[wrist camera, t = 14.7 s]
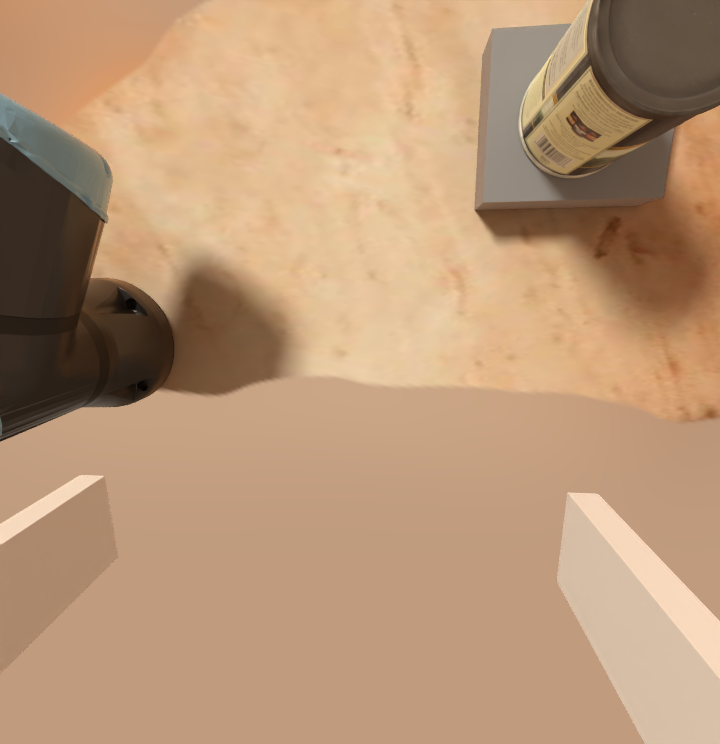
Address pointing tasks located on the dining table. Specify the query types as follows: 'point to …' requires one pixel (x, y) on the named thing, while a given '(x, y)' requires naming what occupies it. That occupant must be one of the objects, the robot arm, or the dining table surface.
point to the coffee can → (621, 82)
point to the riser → (508, 158)
